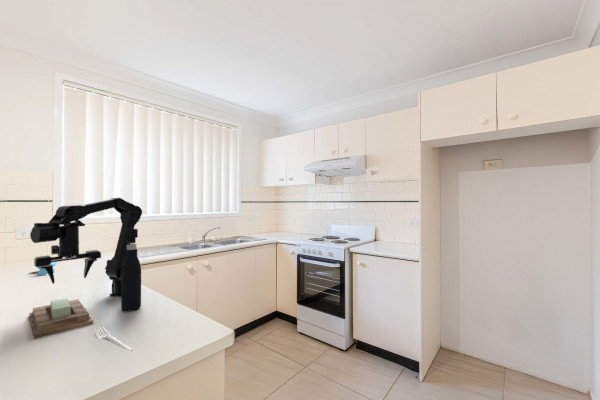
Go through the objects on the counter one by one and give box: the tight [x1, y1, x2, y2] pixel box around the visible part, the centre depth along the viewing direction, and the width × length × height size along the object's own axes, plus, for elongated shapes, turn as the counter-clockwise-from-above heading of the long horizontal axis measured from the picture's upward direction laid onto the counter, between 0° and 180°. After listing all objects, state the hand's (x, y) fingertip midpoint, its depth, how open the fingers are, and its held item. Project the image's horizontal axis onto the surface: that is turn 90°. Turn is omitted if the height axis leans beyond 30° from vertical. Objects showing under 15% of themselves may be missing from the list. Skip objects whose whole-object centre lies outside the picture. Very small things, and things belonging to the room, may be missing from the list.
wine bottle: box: [120, 228, 142, 313], centre depth 105 cm, size 6×6×30 cm
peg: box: [50, 297, 71, 319], centre depth 95 cm, size 12×4×4 cm, turn 44°
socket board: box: [28, 299, 94, 339], centre depth 94 cm, size 25×14×3 cm, turn 47°
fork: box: [93, 325, 134, 352], centre depth 79 cm, size 3×20×2 cm, turn 58°
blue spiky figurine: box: [33, 262, 58, 276], centre depth 163 cm, size 18×10×9 cm, turn 43°
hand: (69, 280), depth 104 cm, fingers open, 9 cm apart
